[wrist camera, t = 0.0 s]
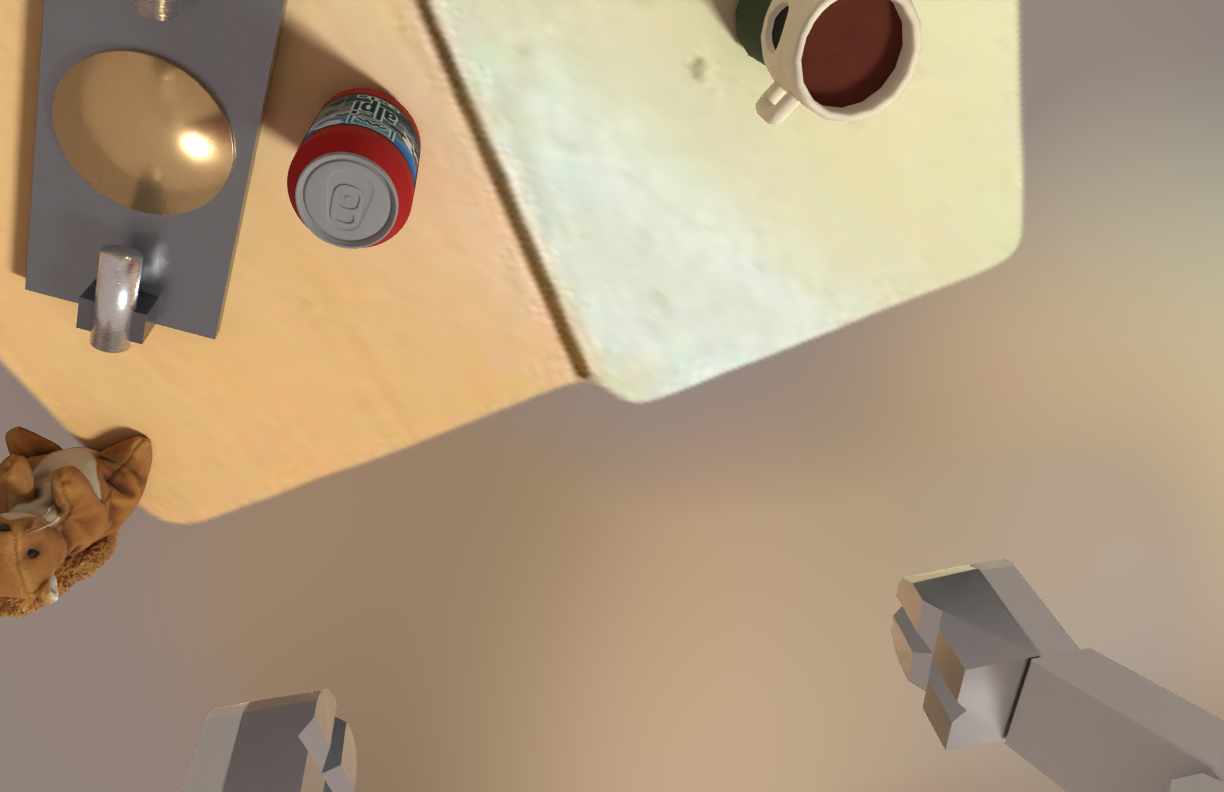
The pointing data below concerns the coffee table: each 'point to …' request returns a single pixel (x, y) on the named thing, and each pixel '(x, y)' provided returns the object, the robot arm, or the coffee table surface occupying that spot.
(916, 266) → the coffee table surface
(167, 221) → the shaft bed
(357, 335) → the coffee table surface
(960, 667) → the robot arm
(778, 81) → the character mug
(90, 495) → the squirrel figurine
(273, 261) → the coffee table surface
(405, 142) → the beverage can
